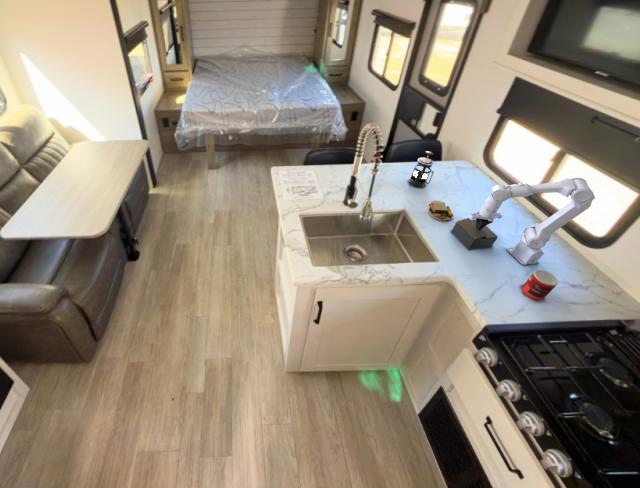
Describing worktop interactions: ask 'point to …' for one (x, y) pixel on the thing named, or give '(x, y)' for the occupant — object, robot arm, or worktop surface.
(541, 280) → the canned food
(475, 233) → the filter lid
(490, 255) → the worktop surface
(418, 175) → the french press
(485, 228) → the grey hinged lid box
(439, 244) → the worktop surface
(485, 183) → the worktop surface
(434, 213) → the toy sandwich meal
